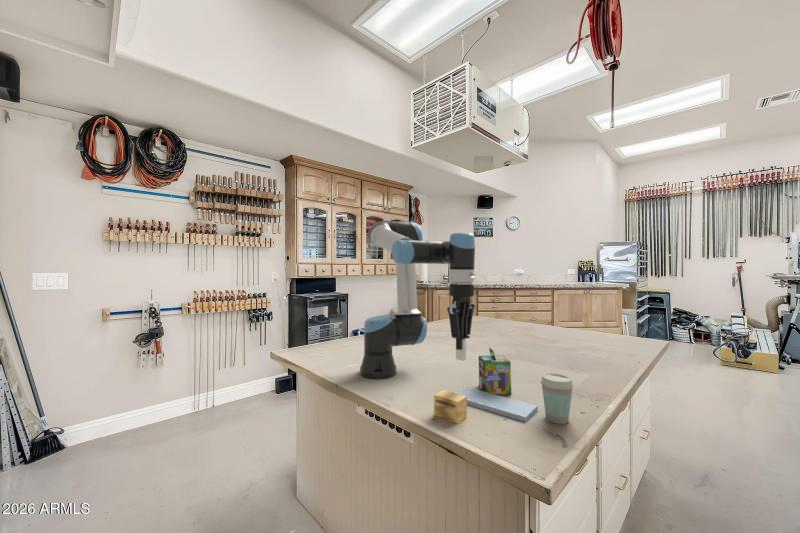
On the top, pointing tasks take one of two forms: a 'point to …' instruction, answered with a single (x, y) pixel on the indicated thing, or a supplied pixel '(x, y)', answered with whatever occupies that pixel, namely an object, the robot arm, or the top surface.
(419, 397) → the top surface
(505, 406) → the board
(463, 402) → the tan rectangular block
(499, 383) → the chalk box
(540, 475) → the top surface
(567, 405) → the coffee cup
